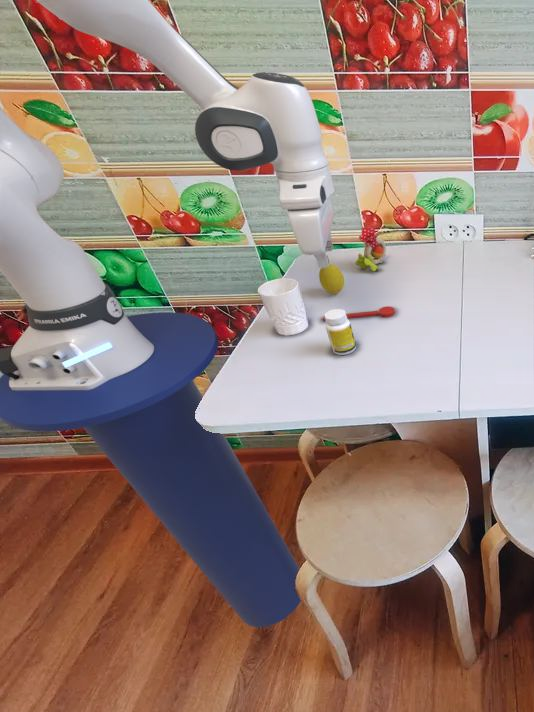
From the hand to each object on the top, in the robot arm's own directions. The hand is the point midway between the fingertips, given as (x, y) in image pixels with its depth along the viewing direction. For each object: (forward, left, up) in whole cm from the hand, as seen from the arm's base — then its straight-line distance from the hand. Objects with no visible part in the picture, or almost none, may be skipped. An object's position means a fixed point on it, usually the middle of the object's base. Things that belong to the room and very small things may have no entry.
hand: (326, 257), depth 90 cm
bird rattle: (+5, +33, -17) cm, 37 cm away
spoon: (+2, +6, -17) cm, 19 cm away
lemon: (-4, +19, -17) cm, 26 cm away
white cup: (-12, +5, -17) cm, 22 cm away
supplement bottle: (0, -6, -17) cm, 19 cm away
